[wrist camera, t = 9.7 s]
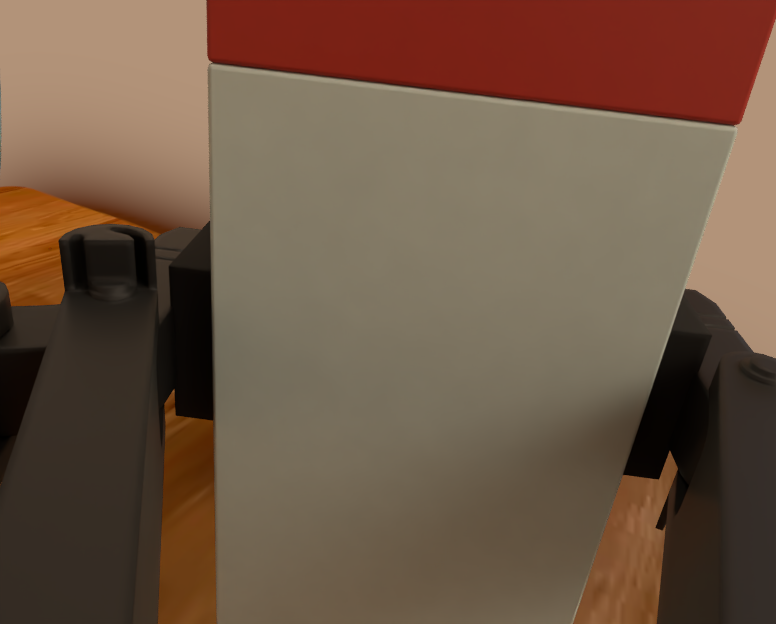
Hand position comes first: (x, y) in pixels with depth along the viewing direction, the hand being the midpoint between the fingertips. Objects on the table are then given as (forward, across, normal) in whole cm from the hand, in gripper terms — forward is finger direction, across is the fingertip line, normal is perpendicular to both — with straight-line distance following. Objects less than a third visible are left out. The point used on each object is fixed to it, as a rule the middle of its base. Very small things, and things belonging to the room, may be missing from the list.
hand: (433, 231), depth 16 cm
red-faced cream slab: (+1, 0, -5) cm, 5 cm away
